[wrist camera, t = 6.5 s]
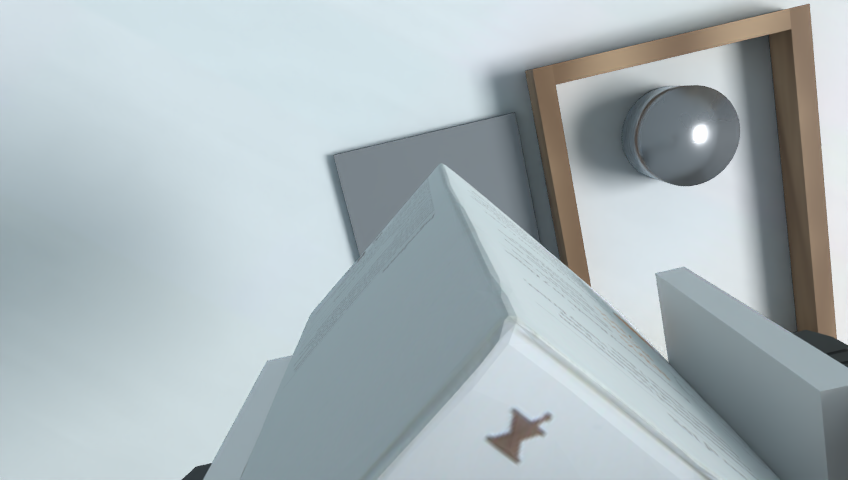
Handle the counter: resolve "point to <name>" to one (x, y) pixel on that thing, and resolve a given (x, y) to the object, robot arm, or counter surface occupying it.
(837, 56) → the counter surface
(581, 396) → the small box
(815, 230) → the frame
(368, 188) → the mat
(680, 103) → the tin
